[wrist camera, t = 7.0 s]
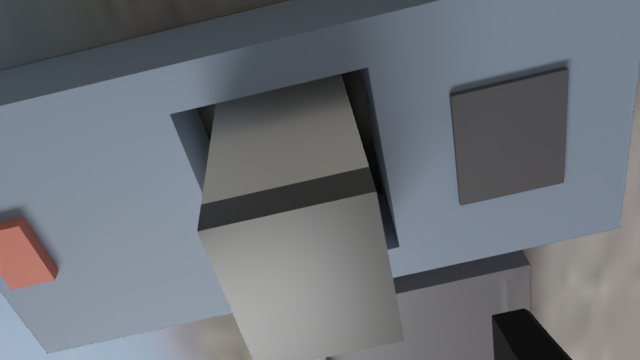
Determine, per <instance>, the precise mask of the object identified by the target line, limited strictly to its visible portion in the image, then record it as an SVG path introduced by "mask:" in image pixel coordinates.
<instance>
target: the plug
mask: <svg viewBox="0 0 640 360" xmlns="http://www.w3.org/2000/svg"><path fill="white" fill-rule="evenodd" d="M197 233H198V235H199V237H200V239H201V242H202V244H203V246H204V249H205V251H206V253H207V256H208V258H209V260H210V262H211V265H212V267H213V269H214V272H215V274H216V276H217V278H218V281H219V283H220V285H221V288H222V290H223V292H224V294H225V297H226V299H227V301H228V304H229V306H230V308H231V311H232V313H233V315H234V317H235V320H236V322H237V324H238V327H239V329H240V331H241V333H242V336H243V338H244V340H245V343H246V345H247V347H248V349H249V352H250V354H251V356H252V359H253V360H316V359H321V358H326V357H331V356H335V355H340V354H345V353H350V352H354V351H359V350H364V349H369V348H373V347H378V346H383V345H387V344H392V343H397V342H402V341H405V340H404V335H403V329H402V324H401V319H400V313H399V308H398V303H397V298H396V292H395V287H394V282H393V276H392V271H391V266H390V260H389V255H388V250H387V245H386V239H385V234H384V229H383V223H382V218H381V213H380V208H379V202H378V197H377V192H376V188H375V185H374V182H373V178H372V175H371V172H370V168H369V165H368V162H367V158H366V155H365V152H364V148H363V145H362V142H361V138H360V135H359V132H358V128H357V125H356V122H355V118H354V115H353V112H352V108H351V105H350V102H349V98H348V95H347V92H346V88H345V85H344V82H343V78H342V75H341V74H338V75H334V76H330V77H325V78H321V79H317V80H313V81H309V82H304V83H300V84H296V85H292V86H287V87H283V88H279V89H275V90H270V91H266V92H262V93H258V94H254V95H249V96H245V97H241V98H237V99H232V100H228V101H224V102H220V103H216V106H215V113H214V119H213V126H212V133H211V140H210V147H209V154H208V160H207V167H206V174H205V181H204V188H203V194H202V201H201V208H200V215H199V222H198V228H197Z"/></svg>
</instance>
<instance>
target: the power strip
mask: <svg viewBox="0 0 640 360" xmlns="http://www.w3.org/2000/svg"><path fill="white" fill-rule="evenodd" d="M639 65H640V0H289V1H285V2H281V3H277V4H273V5H268V6H264V7H260V8H256V9H252V10H248V11H244V12H240V13H236V14H232V15H227V16H223V17H219V18H215V19H211V20H207V21H203V22H199V23H195V24H190V25H186V26H182V27H178V28H174V29H170V30H166V31H162V32H158V33H153V34H149V35H145V36H141V37H137V38H133V39H129V40H125V41H121V42H116V43H112V44H108V45H104V46H100V47H96V48H92V49H88V50H84V51H79V52H75V53H71V54H67V55H63V56H59V57H55V58H51V59H47V60H42V61H38V62H34V63H30V64H26V65H22V66H18V67H14V68H10V69H5V70H1V71H0V292H1V294H2V295H3V296H4V298H5V299H6V300H7V302H8V303H9V304H10V305H11V307H12V308H13V309H14V311H15V312H16V313H17V315H18V316H19V317H20V319H21V320H22V321H23V322H24V324H25V325H26V326H27V328H28V329H29V330H30V332H31V333H32V334H33V336H34V337H35V338H36V340H37V341H38V342H39V343H40V345H41V346H42V347H43V349H44V350H45V351H46V353H47V354H48V353H52V352H57V351H61V350H66V349H70V348H75V347H80V346H84V345H89V344H93V343H98V342H102V341H107V340H112V339H116V338H121V337H125V336H130V335H134V334H139V333H144V332H148V331H153V330H157V329H162V328H166V327H171V326H176V325H180V324H185V323H189V322H194V321H198V320H203V319H208V318H212V317H217V316H221V315H226V314H230V313H232V311H231V308H230V306H229V304H228V301H227V299H226V297H225V294H224V292H223V290H222V288H221V285H220V283H219V281H218V278H217V276H216V274H215V272H214V269H213V267H212V265H211V262H210V260H209V258H208V256H207V253H206V251H205V249H204V246H203V244H202V242H201V239H200V237H199V235H198V233H197V228H198V222H199V215H200V208H201V201H202V194H203V188H204V181H205V174H206V167H207V160H208V154H209V147H210V141H209V139H208V136H207V133H206V131H205V128H204V126H203V123H202V120H201V118H200V115H199V112H198V110H197V108H199V107H203V106H207V105H211V104H215V103H220V102H224V101H228V100H232V99H237V98H241V97H245V96H249V95H254V94H258V93H262V92H266V91H270V90H275V89H279V88H283V87H287V86H292V85H296V84H300V83H304V82H309V81H313V80H317V79H321V78H325V77H330V76H334V75H338V74H342V73H347V72H351V71H355V70H359V69H360V72H361V78H362V83H363V89H364V94H365V99H366V105H367V110H368V116H369V121H370V126H371V132H372V137H373V143H374V148H375V153H376V159H377V164H378V170H379V175H380V180H381V186H382V191H383V194H381V195H377V197H378V202H379V208H380V213H381V218H382V223H383V229H384V234H385V239H386V245H387V250H388V255H389V260H390V266H391V271H392V276H393V278H395V277H399V276H404V275H409V274H413V273H418V272H422V271H427V270H431V269H436V268H441V267H445V266H450V265H454V264H459V263H463V262H468V261H473V260H477V259H482V258H486V257H491V256H495V255H500V254H505V253H509V252H514V251H518V250H523V249H527V248H532V247H537V246H541V245H546V244H550V243H555V242H559V241H564V240H569V239H573V238H578V237H582V236H587V235H591V234H596V233H601V232H605V231H610V230H614V229H619V228H620V224H621V215H622V207H623V199H624V190H625V182H626V174H627V165H628V157H629V148H630V140H631V132H632V123H633V115H634V107H635V98H636V90H637V82H638V73H639Z"/></svg>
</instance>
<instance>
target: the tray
mask: <svg viewBox="0 0 640 360" xmlns="http://www.w3.org/2000/svg"><path fill="white" fill-rule="evenodd" d="M393 282H394V287H395V292H396V298H397V303H398V308H399V313H400V319H401V324H402V329H403V335H404V340H405V341H402V342H397V343H392V344H387V345H383V346H378V347H373V348H369V349H364V350H359V351H354V352H350V353H345V354H340V355H335V356H331V357H326V358H321V359H316V360H494V349H493V331H492V315H495V314H499V313H504V312H509V311H513V310H518V309H523V308H524V309H526V310H528V311H530V263H529V262H528V260H527V258H526V256H525V255H524V253H523V251H522V250H518V251H514V252H509V253H505V254H500V255H495V256H491V257H486V258H482V259H477V260H473V261H468V262H463V263H459V264H454V265H450V266H445V267H441V268H436V269H431V270H427V271H422V272H418V273H413V274H409V275H404V276H399V277H395V278H393Z"/></svg>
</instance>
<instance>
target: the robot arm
mask: <svg viewBox="0 0 640 360" xmlns="http://www.w3.org/2000/svg"><path fill="white" fill-rule="evenodd" d="M492 331H493V349H494V360H572V359H571V358H570V357H569V356H568V355H567V353H566V352H565V351H564V350H563V349H562V348H561V347H560V346H559V345H558V344H557V343H556V341H555V340H554V339H553V338H552V337H551V336H550V335H549V334H548V332H547V331H546V330H545V329H544V328H543V327H542V325H541V324H540V323H539V322H538V321H537V320H536V318H535V317H534V316H533V315H532V314H531V312H530V311H528V310H526V309H524V308H523V309H518V310H513V311H509V312H504V313H499V314H495V315H492Z"/></svg>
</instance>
